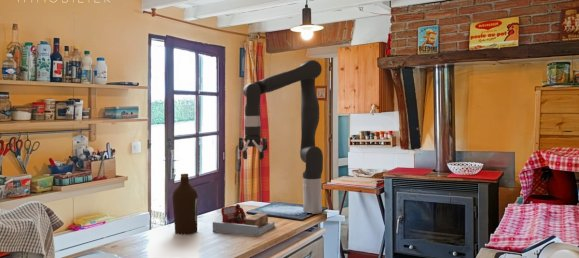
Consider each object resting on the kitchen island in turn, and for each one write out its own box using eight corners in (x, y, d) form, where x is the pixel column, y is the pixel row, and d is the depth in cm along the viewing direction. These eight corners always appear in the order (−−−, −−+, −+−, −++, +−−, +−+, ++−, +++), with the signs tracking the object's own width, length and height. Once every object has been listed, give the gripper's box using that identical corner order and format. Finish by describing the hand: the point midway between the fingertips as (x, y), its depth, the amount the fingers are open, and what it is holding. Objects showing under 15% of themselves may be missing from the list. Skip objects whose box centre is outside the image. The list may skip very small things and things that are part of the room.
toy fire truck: (250, 227, 205) (249, 204, 204) (227, 233, 196) (226, 208, 196) (240, 224, 210) (240, 201, 209) (218, 230, 201) (217, 206, 201)
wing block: (259, 226, 207) (258, 212, 206) (268, 227, 205) (267, 213, 204) (245, 233, 196) (245, 219, 195) (255, 234, 194) (254, 220, 194)
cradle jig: (232, 222, 214) (232, 213, 213) (274, 226, 205) (274, 217, 205) (212, 231, 199) (212, 222, 198) (257, 236, 190) (256, 226, 190)
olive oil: (174, 236, 192) (172, 176, 191) (172, 229, 202) (171, 173, 201) (200, 233, 195) (198, 175, 194) (197, 227, 205) (195, 171, 204)
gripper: (269, 125, 220) (270, 159, 220) (243, 125, 225) (244, 158, 226) (262, 125, 213) (262, 160, 214) (235, 125, 219) (236, 159, 219)
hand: (253, 159), depth 220 cm, fingers open, 8 cm apart
